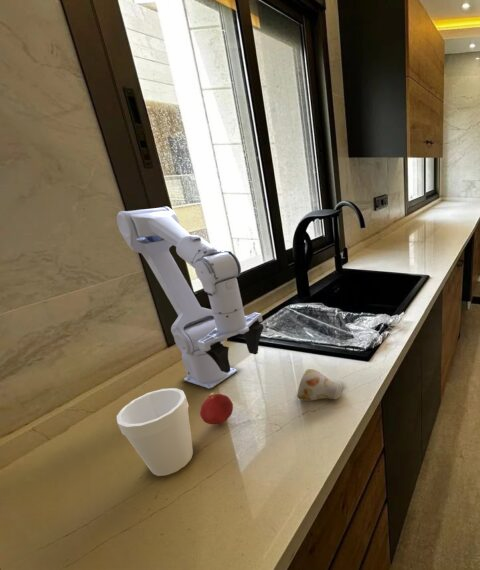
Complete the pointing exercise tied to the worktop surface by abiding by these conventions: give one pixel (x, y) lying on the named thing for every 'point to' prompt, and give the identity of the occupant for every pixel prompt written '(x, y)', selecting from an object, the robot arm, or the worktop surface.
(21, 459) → the worktop surface
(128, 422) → the foam cup
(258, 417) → the worktop surface
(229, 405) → the red round piece
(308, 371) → the white spotted tapered part
